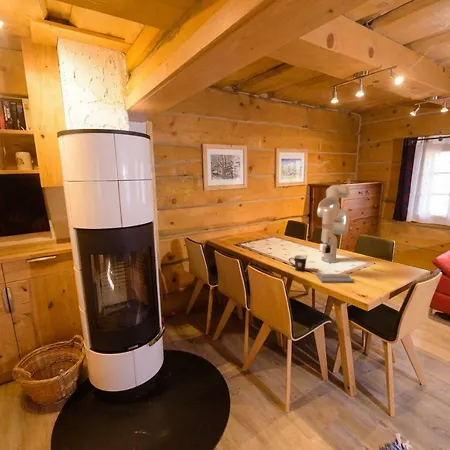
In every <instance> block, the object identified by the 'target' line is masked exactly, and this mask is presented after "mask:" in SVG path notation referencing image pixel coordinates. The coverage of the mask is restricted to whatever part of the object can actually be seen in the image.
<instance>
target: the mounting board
mask: <svg viewBox="0 0 450 450" xmlns="http://www.w3.org/2000/svg"><path fill="white" fill-rule="evenodd" d="M320 274H321V273H316V277H317V278H318V280H319V281H320V282H321V283H322V284H324V283H325V284H326V283H327V284H328V283H329V284H332V283H333V284H337V283H338V284H341V283H342V284H351V283H352V284H353V283H354V280H353V279H352V278H351V276H349V278H321V277H320Z"/></svg>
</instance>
